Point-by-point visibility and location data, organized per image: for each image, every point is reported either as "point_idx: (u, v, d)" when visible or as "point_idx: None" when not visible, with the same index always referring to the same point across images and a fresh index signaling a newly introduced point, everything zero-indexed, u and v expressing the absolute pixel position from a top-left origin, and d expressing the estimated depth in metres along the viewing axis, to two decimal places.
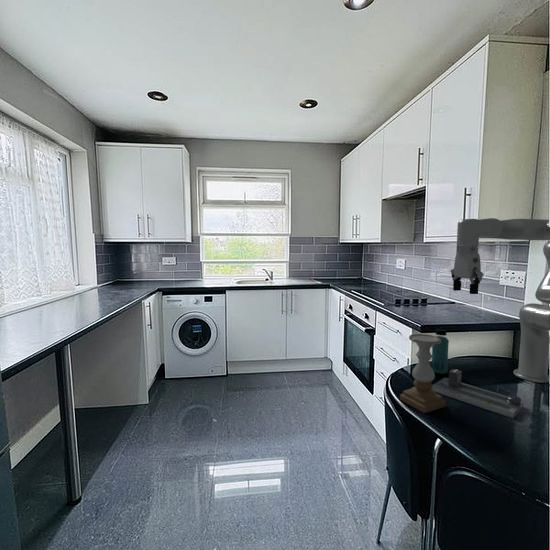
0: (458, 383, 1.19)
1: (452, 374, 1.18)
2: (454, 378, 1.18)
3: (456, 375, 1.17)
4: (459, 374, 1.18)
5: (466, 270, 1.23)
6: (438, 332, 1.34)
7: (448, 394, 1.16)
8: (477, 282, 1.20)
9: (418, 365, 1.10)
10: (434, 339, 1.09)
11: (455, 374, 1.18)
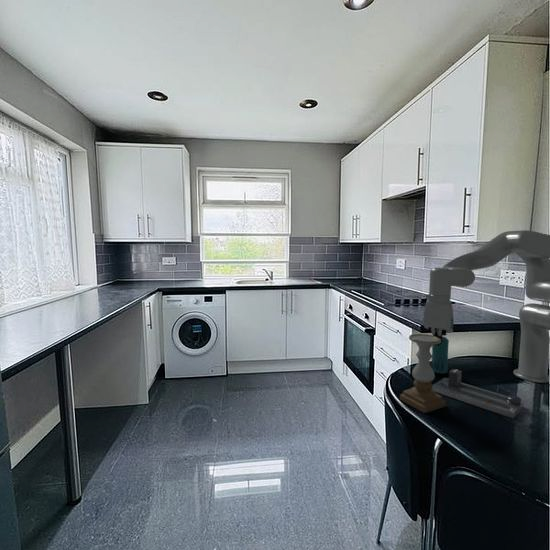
0: (458, 383, 1.19)
1: (452, 374, 1.18)
2: (454, 378, 1.18)
3: (456, 375, 1.17)
4: (459, 374, 1.18)
5: None
6: None
7: (448, 394, 1.16)
8: None
9: (418, 365, 1.10)
10: (434, 339, 1.09)
11: (455, 374, 1.18)
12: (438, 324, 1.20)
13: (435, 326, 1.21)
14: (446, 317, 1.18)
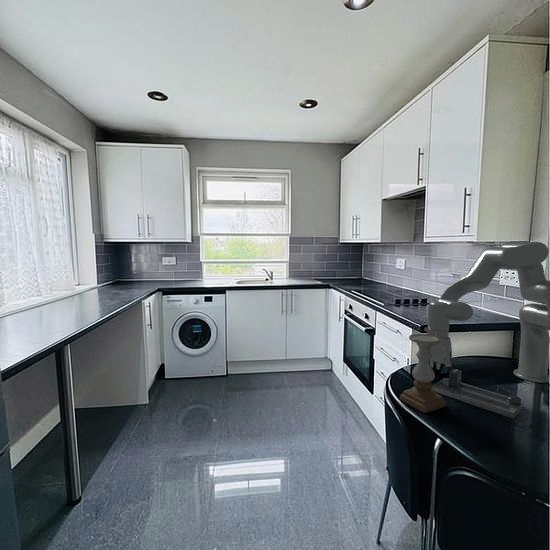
0: (458, 383, 1.19)
1: (452, 374, 1.18)
2: (454, 378, 1.18)
3: (456, 375, 1.17)
4: (459, 374, 1.18)
5: None
6: None
7: (448, 394, 1.16)
8: None
9: (418, 365, 1.10)
10: (434, 339, 1.09)
11: (455, 374, 1.18)
12: (437, 358, 1.22)
13: (434, 360, 1.23)
14: (444, 352, 1.19)
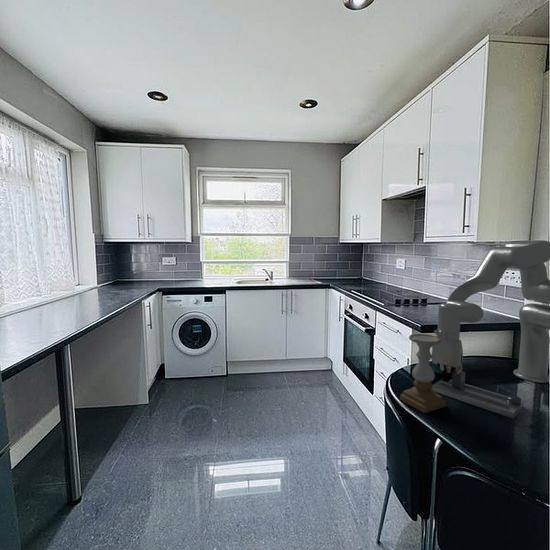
0: (462, 384, 1.18)
1: (456, 375, 1.17)
2: (458, 379, 1.17)
3: (460, 376, 1.16)
4: (463, 375, 1.17)
5: None
6: None
7: (448, 394, 1.16)
8: None
9: (418, 365, 1.10)
10: (434, 339, 1.09)
11: (459, 375, 1.17)
12: (447, 361, 1.19)
13: (444, 363, 1.20)
14: (455, 355, 1.16)
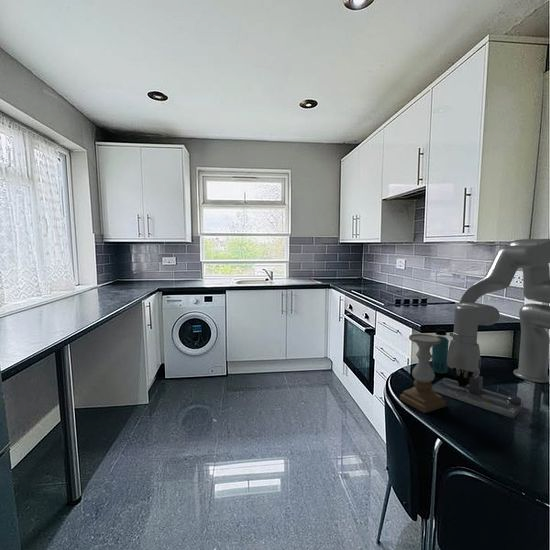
0: (480, 389, 1.13)
1: (473, 380, 1.13)
2: (475, 384, 1.12)
3: (477, 381, 1.12)
4: (480, 380, 1.13)
5: None
6: (438, 332, 1.34)
7: (448, 394, 1.16)
8: None
9: (418, 365, 1.10)
10: (434, 339, 1.09)
11: (476, 380, 1.12)
12: (464, 365, 1.14)
13: (461, 367, 1.15)
14: (473, 359, 1.12)
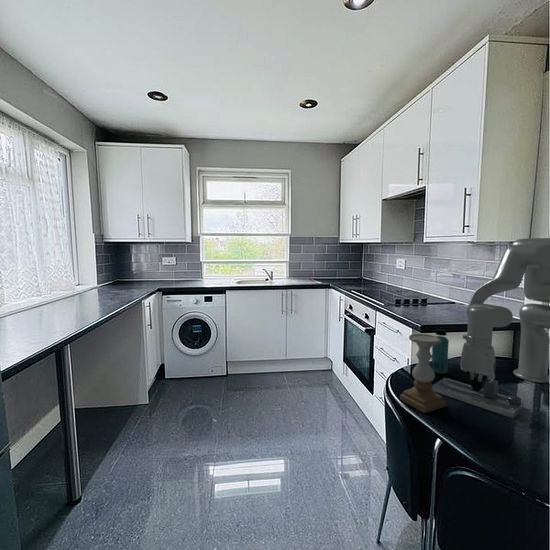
0: (495, 394, 1.10)
1: (488, 384, 1.09)
2: (490, 389, 1.09)
3: (493, 386, 1.08)
4: (496, 384, 1.09)
5: None
6: (438, 332, 1.34)
7: (448, 394, 1.16)
8: None
9: (418, 365, 1.10)
10: (434, 339, 1.09)
11: (491, 384, 1.09)
12: (478, 369, 1.11)
13: (475, 371, 1.12)
14: (488, 362, 1.08)
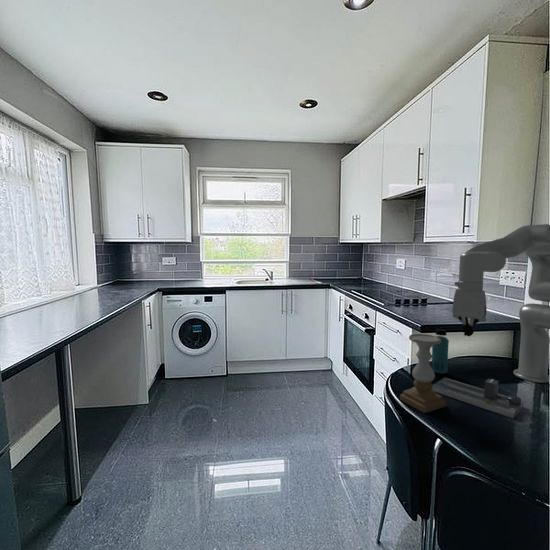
0: (495, 394, 1.09)
1: (488, 384, 1.09)
2: (491, 389, 1.09)
3: (493, 386, 1.08)
4: (496, 384, 1.09)
5: None
6: (438, 332, 1.34)
7: (448, 394, 1.16)
8: None
9: (418, 365, 1.10)
10: (434, 339, 1.09)
11: (492, 385, 1.08)
12: (470, 313, 1.12)
13: (466, 315, 1.13)
14: (479, 305, 1.10)
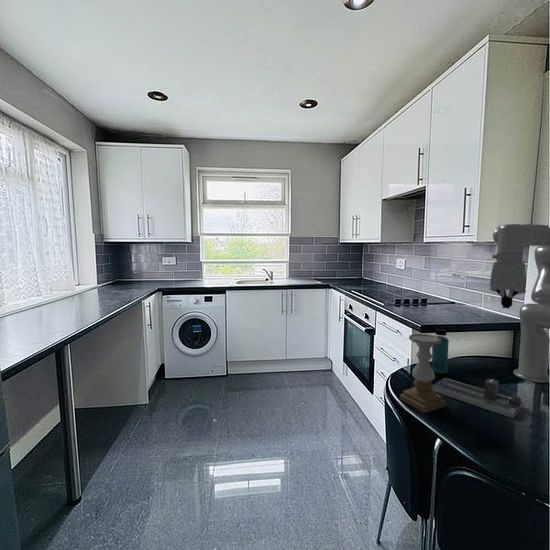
0: (495, 394, 1.09)
1: (488, 384, 1.09)
2: (491, 389, 1.09)
3: (493, 386, 1.08)
4: (496, 384, 1.09)
5: None
6: (438, 332, 1.34)
7: (448, 394, 1.16)
8: None
9: (418, 365, 1.10)
10: (434, 339, 1.09)
11: (492, 385, 1.08)
12: (509, 284, 1.12)
13: (506, 287, 1.13)
14: (519, 276, 1.10)
